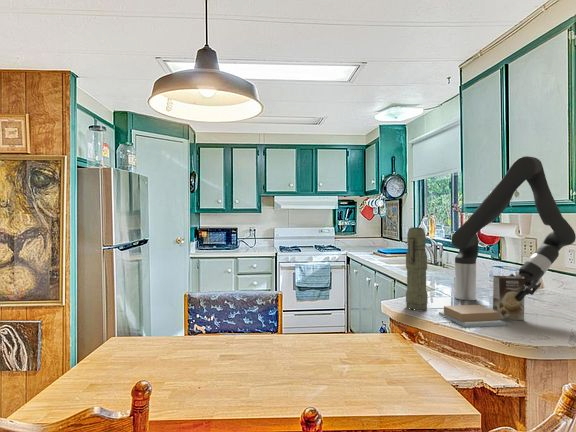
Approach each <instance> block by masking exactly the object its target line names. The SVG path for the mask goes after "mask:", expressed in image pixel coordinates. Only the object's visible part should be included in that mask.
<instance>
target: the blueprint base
mask: <svg viewBox="0 0 576 432" xmlns="http://www.w3.org/2000/svg"><path fill="white" fill-rule="evenodd" d="M439 314H440V316H441V315H442V316H441V317H443V316H444V318H446V319H447V320H450V321H452V322H453V323H456V324H458V325H460V326H462V327H464V328H473V327H474V328H476V327H494V326H495V327H497V326H498V327H499V326H500V327H501V326H507V322H505V321H504V320H502V319H499V312H497V311H494V310H493V309H491V308H489V307H485V306H482V305H480V304H464V305H443V311H438V315H439Z"/></svg>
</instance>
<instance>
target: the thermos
mask: <svg viewBox="0 0 576 432" xmlns="http://www.w3.org/2000/svg"><path fill="white" fill-rule="evenodd" d="M426 235H427V234H426V231H425V228H422V227H418V226H415V227H413V226H412V227H410V228H408V230H407V240H406V241H407V243H406V244H407V249H406V250H407V251H406V254H405V267H406V279H407V280H406V285H407V286H406V292H405V303H406V305H405V306H406V307H407V308H410V309H415V310H414V311H417V310H423V311H426V309H427V310H428V302H429V301H428V292H427V269H428V255H427V251H426V245H427V244H426V243H427V242H426V241H427V239H426V238H427V236H426ZM407 308H406V309H407ZM410 309H409V310H410Z"/></svg>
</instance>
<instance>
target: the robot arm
mask: <svg viewBox="0 0 576 432" xmlns="http://www.w3.org/2000/svg"><path fill="white" fill-rule="evenodd" d="M543 166H544V165H543V163H542V160H540V159H539V158H537V157H535V156H528V155H524V156H521V157H518V158H517V159H516V160H514V162H513V163H512V165H510V167H509V169H508V170H507V172H506V173H505V175H504V176H503V177H502V178H501V180H500V181H499V182H498V183H497V184H496V186H495V187H494V188H493V189H492V190H491V191H490V192H489V193H488V195H487V196H485V198H484V199H483V200H482V202H481V203H480V204H479V205H478V207H476V209H475V210H474V211H473V212H472V214H470V216H469V217H468V219H466V221H465V222H464V223H463V224H462V225H461V226H460V227H459V228H457V229H456V230H455V231H454V232H453V234H452V236H451V244H452V246H453V247H454V248H456V249H457V250H458V253H457V255H456V256H455V257H454V277H453V278H454V279H453V280H454V281H453V282H454V283H453V285H454V287H453V290H454V291H453V293H454V295H453V296H454V298H455V299H456V300H461V301H475V300H477V259H478V257H479V255H478V254H479V238H478V235H477V234H478V233H479V232H480V230H482V229H483V228H485V227H486V226H487V225H489V224H491V223H492V222H493V221H495V220H496V219H497V218H499V216H500V215H501V214H502V213H503V212H504V211H505V210H506V209H507V208H508V206H509V204H510V202H511V201H512V199H513V196H514V194H515V192H516V191H517V190H518V188H519V187H521V185H522V184H523V183H524V182H527V183H528V185H529V187H530V189H531V191H532V194H533V200H534V205H535V208H536V211H537V213H538V215H539V218H540V220H541V221H542V223H543V225H544V226H548V227H550V229H552V231H551V232H549V233H548V234H547V235H546V236H545V238H544V240H543V241H542V243H541V245H540V247H538V249H536V251H534V253H532V255H531V256H530V257H528V259H527V260H526V261H525V262H524V263H523V264H522V265H521V266H520V268H519V269H518V274H517V275H516V276H517V277H521V278H524V279H525V281H524V287H523V288H522V291H520V292H519V293H518V294H517V295H516V297H515V299H516V300H517V301H519V302H520V301H521V300H522V299H523V298H524V299H525V297H526V296H528V295H531V296H532V295H534V294H535V292H537V290H538V288H540V287H541V285H542V283H541V282H540V280H541V278H543V276H544V275H545V274H546V272H547V271H548V270H549V269H550V267H551V266H552V264H554V262H555V261H556V260H557V259H558V257H559V255H560V253H559V251H560V250H561V249H562V248H564V247H566V246H567V247H568V246H570V245H573V244H574V243H575V242H576V232H575V230H574V229H573V227H572V226H571V224H569V223H568V220H566V219H565V217H563V215H562V213H561V210H560V208H559V206H558V205H557V202H556V200H555V198H554V195H553V194H552V191H551V189H550V187H549V184H548V180H547V177H546V173H545V171H544V167H543ZM509 276H515V275H514V273H511V274H510V275H509Z"/></svg>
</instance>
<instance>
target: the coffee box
mask: <svg viewBox="0 0 576 432" xmlns="http://www.w3.org/2000/svg"><path fill="white" fill-rule="evenodd" d="M492 280H493V282H492V286H493V287H492V289H493V290H492V299H493V300H492V310H494V311H497V312H499V320H507V321H508V320H509V321H525V297H524V298H523V299H522V300H521V301H520V302H519V301H517V300H516V299H515V297H516V295H517V294H518V293H519V292H520V291H522V288H523V287H524V281H525V279H524V278H521V277H517V275H514V276H510V275H493V279H492Z"/></svg>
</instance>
